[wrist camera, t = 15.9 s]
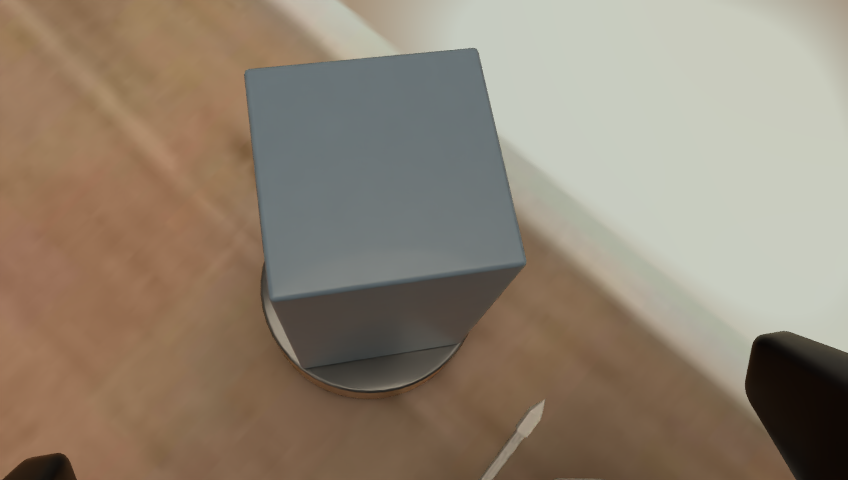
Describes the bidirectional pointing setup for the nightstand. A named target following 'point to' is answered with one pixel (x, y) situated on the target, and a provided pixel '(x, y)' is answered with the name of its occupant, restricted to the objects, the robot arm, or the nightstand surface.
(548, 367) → the nightstand surface
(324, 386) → the disc
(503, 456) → the robot toy
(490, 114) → the top block
